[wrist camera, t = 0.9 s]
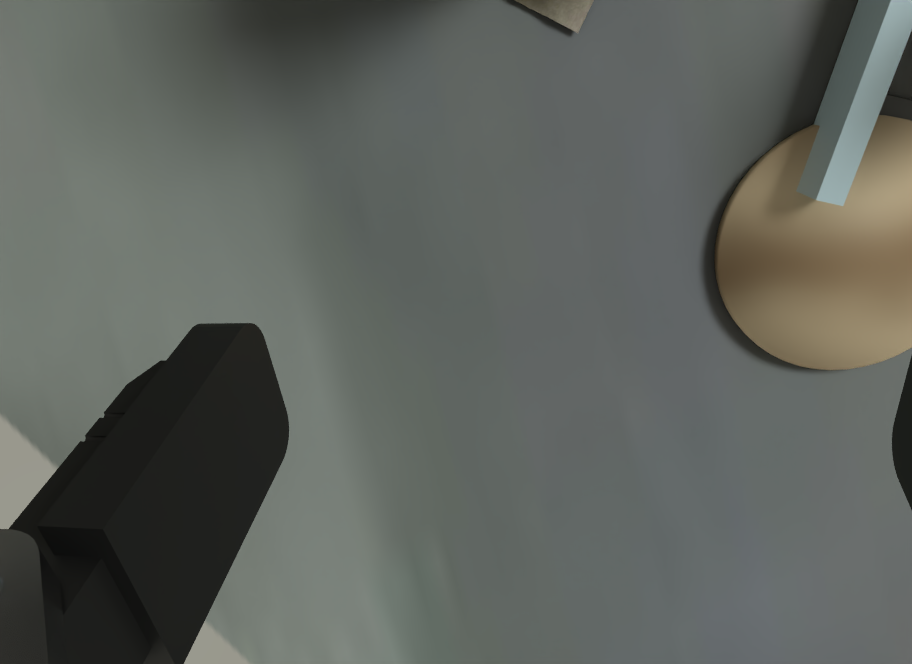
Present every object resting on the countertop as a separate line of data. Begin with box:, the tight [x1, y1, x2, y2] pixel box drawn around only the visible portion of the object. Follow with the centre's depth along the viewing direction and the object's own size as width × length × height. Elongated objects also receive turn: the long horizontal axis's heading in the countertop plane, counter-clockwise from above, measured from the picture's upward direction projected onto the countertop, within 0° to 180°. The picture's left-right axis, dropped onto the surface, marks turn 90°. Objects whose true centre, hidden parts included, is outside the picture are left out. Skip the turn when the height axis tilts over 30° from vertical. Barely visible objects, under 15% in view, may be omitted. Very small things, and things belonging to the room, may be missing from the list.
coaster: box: [714, 115, 912, 370], centre depth 30 cm, size 10×10×1 cm
